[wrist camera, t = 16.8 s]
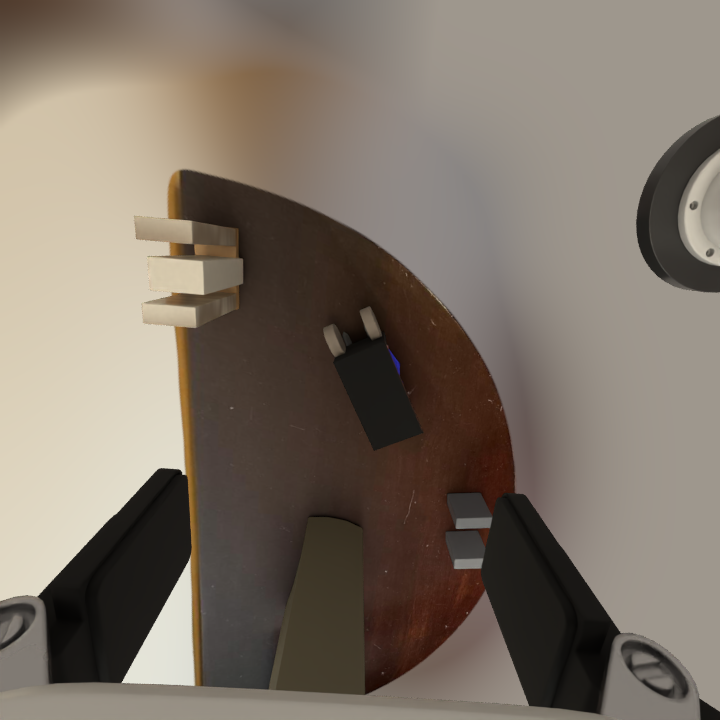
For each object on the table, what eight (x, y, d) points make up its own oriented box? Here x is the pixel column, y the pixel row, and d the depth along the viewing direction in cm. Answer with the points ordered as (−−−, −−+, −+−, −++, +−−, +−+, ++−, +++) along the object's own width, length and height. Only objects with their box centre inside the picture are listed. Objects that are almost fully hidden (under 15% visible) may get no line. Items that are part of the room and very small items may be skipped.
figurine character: (324, 325, 45) (373, 430, 48) (313, 332, 38) (372, 456, 40) (373, 303, 45) (421, 410, 47) (372, 305, 37) (429, 433, 39)
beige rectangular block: (201, 255, 41) (146, 256, 30) (243, 258, 41) (202, 261, 30) (202, 280, 42) (149, 290, 31) (243, 283, 42) (204, 294, 31)
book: (309, 510, 52) (271, 711, 29) (363, 522, 52) (367, 727, 30) (285, 606, 57) (237, 841, 34) (335, 615, 57) (319, 852, 35)
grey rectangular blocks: (447, 493, 51) (456, 518, 46) (480, 492, 51) (493, 517, 46) (445, 540, 53) (454, 569, 48) (477, 539, 53) (489, 568, 48)
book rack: (197, 224, 41) (133, 214, 29) (238, 228, 41) (191, 219, 29) (200, 305, 43) (142, 324, 32) (239, 308, 43) (196, 329, 32)
